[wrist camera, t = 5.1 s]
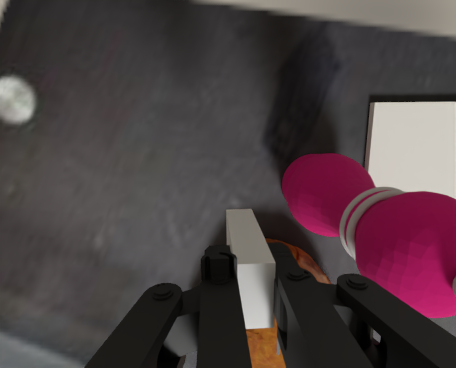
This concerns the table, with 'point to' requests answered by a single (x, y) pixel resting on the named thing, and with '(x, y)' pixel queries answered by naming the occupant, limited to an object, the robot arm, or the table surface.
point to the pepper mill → (380, 228)
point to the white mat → (412, 146)
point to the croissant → (267, 337)
